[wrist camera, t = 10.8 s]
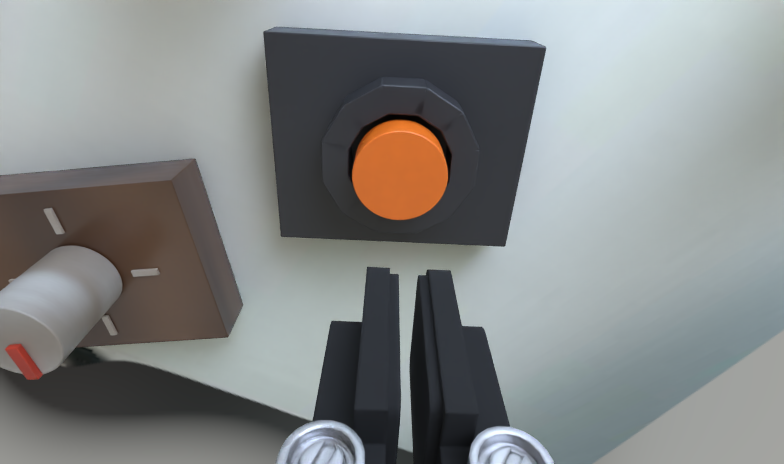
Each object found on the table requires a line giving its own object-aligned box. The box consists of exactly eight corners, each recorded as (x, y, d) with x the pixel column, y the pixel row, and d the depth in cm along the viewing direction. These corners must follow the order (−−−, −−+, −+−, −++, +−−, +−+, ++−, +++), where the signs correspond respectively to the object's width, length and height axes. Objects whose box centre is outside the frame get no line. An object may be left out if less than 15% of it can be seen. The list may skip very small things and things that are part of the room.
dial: (29, 249, 23) (-63, 316, 18) (103, 241, 23) (28, 307, 18) (66, 309, 25) (-8, 383, 20) (135, 302, 25) (75, 376, 20)
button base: (532, 40, 21) (560, 52, 17) (496, 227, 26) (513, 265, 22) (275, 26, 20) (250, 35, 17) (289, 217, 25) (272, 255, 22)
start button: (448, 121, 19) (453, 133, 17) (439, 205, 21) (442, 222, 19) (355, 116, 19) (351, 128, 17) (354, 201, 21) (351, 218, 19)
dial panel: (195, 158, 24) (169, 181, 21) (243, 305, 28) (227, 339, 26) (-36, 178, 24) (-91, 203, 21) (50, 318, 29) (14, 353, 26)
